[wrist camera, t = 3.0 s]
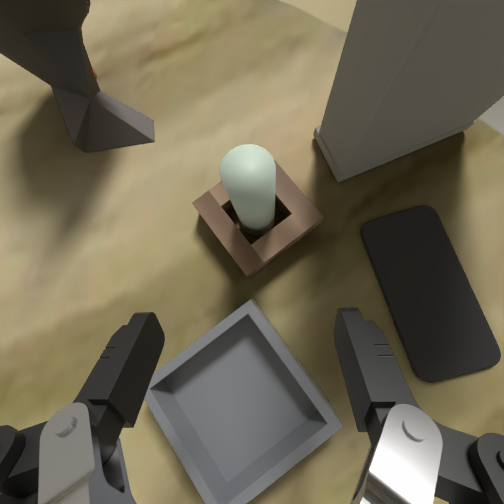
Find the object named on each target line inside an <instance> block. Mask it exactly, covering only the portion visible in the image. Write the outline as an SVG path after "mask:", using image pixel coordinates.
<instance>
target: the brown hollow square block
mask: <svg viewBox="0 0 504 504" xmlns="http://www.w3.org/2000/svg"><path fill="white" fill-rule="evenodd" d="M274 161H275V160H274ZM275 165H276V184H275V204H276V205H277V206H278V208H279V209H280V210H281V211H282V212H283V214H284V215H285V216H286V217H287V218H286V219H285V220H283V221H282V222H281V223H279V224H278V225H277V226H275V227H274V228H273V229H271V230H270V231H269V232H267V233H266V234H265V235H263V236H262V237H261V238H259V239H258V240H257V241H256V242H254V243H253V244H252V245H250V243H249V242H248V241H247V239H246V238H245V237H244V236H243V234H242V233H241V232H240V230H239V229H238V228H237V226H236V225H235V224H234V223H233V221H232V220H231V219H230V217H229V216H228V215H227V213H229V212H230V211H231V210H233V209H234V207H233V205H232V202H231V200H230V198H229V196H228V194H227V192H226V189H225V187H224V185H223V183H222V181H221V182H219V183H218V184H217V185H215V186H214V187H213V188H211V189H210V190H209V191H207V192H206V193H205V194H203V195H202V196H201V197H199V198H198V199H196V200H195V201H194V202H192V204H193V205H194V207H195V208H196V209H197V211H198V212H199V213H200V215H201V216H202V217H203V219H204V220H205V221H206V223H207V224H208V225H209V227H210V228H211V229H212V231H213V232H214V233H215V235H216V236H217V238H218V239H219V240H220V242H221V243H222V244H223V246H224V247H225V248H226V250H227V251H228V252H229V254H230V255H231V256H232V258H233V259H234V260H235V262H236V263H237V264H238V266H239V267H240V268H241V270H242V271H243V272H244V274H245V275H246V276H247V277H248V278H250V277H251V276H252V275H254V274H255V273H256V272H257V271H259V270H260V269H261V268H263V267H264V266H265V265H267V264H268V263H269V262H271V261H272V260H273V259H275V258H276V257H277V256H278V255H280V254H281V253H282V252H284V251H285V250H286V249H288V248H289V247H290V246H292V245H293V244H294V243H296V242H297V241H298V240H299V239H301V238H302V237H303V236H305V235H306V234H307V233H309V232H310V231H311V230H313V229H314V228H315V227H317V226H318V225H319V224H320V222H321V221H322V219H323V218H324V217H323V216H322V215H321V213H320V212H319V211H318V210H317V209H316V208H315V206H314V205H313V204H312V203H311V202H310V201H309V200H308V198H307V197H306V196H305V195H304V194H303V193H302V191H301V190H300V189H299V188H298V187H297V186H296V184H295V183H294V182H293V181H292V180H291V179H290V178H289V176H288V175H287V174H286V173H285V172H284V171H283V169H282V168H281V167H280V166H279V165H278V164H277V162H276V161H275Z"/></svg>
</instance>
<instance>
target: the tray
mask: <svg viewBox="0 0 504 504" xmlns="http://www.w3.org/2000/svg"><path fill="white" fill-rule="evenodd" d="M144 400H145V402H146V403H147V405H148V407H149V409H150V410H151V412H152V414H153V415H154V417H155V419H156V421H157V422H158V424H159V426H160V427H161V429H162V431H163V433H164V434H165V436H166V438H167V439H168V441H169V443H170V445H171V446H172V448H173V450H174V451H175V453H176V455H177V457H178V458H179V460H180V462H181V463H182V465H183V467H184V469H185V470H186V472H187V474H188V475H189V477H190V479H191V481H192V482H193V484H194V486H195V487H196V489H197V491H198V493H199V494H200V496H201V498H202V499H203V501H204V503H205V504H247V503H248V502H250V501H251V500H252V499H253V498H255V497H256V496H257V495H258V494H260V493H261V492H262V491H263V490H265V489H266V488H267V487H268V486H270V485H271V484H272V483H273V482H275V481H276V480H277V479H278V478H280V477H281V476H282V475H283V474H285V473H286V472H287V471H288V470H290V469H291V468H292V467H293V466H295V465H296V464H297V463H298V462H300V461H301V460H302V459H303V458H305V457H306V456H307V455H308V454H310V453H311V452H312V451H313V450H315V449H316V448H317V447H319V446H320V445H321V444H322V443H324V442H325V441H326V440H327V439H329V438H330V437H331V436H332V435H334V434H335V433H336V432H337V431H339V430H340V429H341V428H342V427H343V425H342V423H341V421H340V419H339V418H338V416H337V414H336V412H335V410H334V408H333V406H332V405H331V403H330V402H329V400H328V399H327V398H326V396H325V395H324V394H323V392H322V391H321V390H320V388H319V387H318V386H317V384H316V383H315V381H314V380H313V379H312V377H311V376H310V375H309V373H308V372H307V371H306V369H305V368H304V367H303V365H302V364H301V362H300V361H299V360H298V358H297V357H296V356H295V354H294V353H293V352H292V350H291V349H290V347H289V346H288V345H287V343H286V342H285V341H284V339H283V338H282V337H281V335H280V334H279V333H278V331H277V330H276V328H275V327H274V326H273V324H272V323H271V322H270V320H269V319H268V318H267V316H266V315H265V314H264V312H263V311H262V309H261V308H260V307H259V305H258V304H257V303H256V301H255V300H254V299H250V300H249V301H247V302H246V303H245V304H244V305H242V306H241V307H240V308H238V309H237V310H236V311H234V312H233V313H232V314H230V315H229V316H228V317H227V318H225V319H224V320H223V321H221V322H220V323H219V324H217V325H216V326H215V327H213V328H212V329H211V330H210V331H208V332H207V333H206V334H204V335H203V336H202V337H200V338H199V339H198V340H196V341H195V342H194V343H193V344H191V345H190V346H189V347H187V348H186V349H185V350H183V351H182V352H181V353H179V354H178V355H177V356H176V357H174V358H173V359H172V360H170V361H169V362H168V363H166V364H165V365H164V366H162V367H161V368H160V369H159V370H157V371H156V372H155V373H153V376H152V379H151V381H150V384H149V387H148V390H147V392H146V395H145V398H144Z"/></svg>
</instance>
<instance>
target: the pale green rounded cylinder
mask: <svg viewBox="0 0 504 504" xmlns="http://www.w3.org/2000/svg"><path fill="white" fill-rule="evenodd" d="M220 178H221V181H222V183H223V185H224V187H225V189H226V192H227V194H228V196H229V198H230V200H231V202H232V205H233V207H234V209H235V211H236V213H237V215H238V218H239V220H240V222H241V224H242V226H243V228H244V229H245V230H246V231H247V232H249V233H251V234H254V235H260V234H264V233H266V232H268V231H269V230H270V229H271V228H272V226H273V224H274V221H275V184H276V165H275V161H274V159H273V157H272V155H271V154H270V153H269V152H268V151H267V150H266V149H264V148H262V147H260V146H258V145H253V144H245V145H241V146H238V147H236V148H234V149H232V150H231V151H230V152H228V153H227V154H226V156H225V157H224V159H223V160H222V163H221V166H220Z"/></svg>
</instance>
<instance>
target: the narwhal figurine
mask: <svg viewBox="0 0 504 504" xmlns="http://www.w3.org/2000/svg"><path fill="white" fill-rule="evenodd" d="M89 7H90V0H0V53H1V54H3V55H4V56H6V57H7V58H9V59H10V60H12V61H13V62H15V63H17V64H18V65H20V66H21V67H23V68H24V69H26V70H27V71H29V72H31V73H32V74H34V75H35V76H37V77H38V78H40V79H41V80H43V81H45V82H46V83H48V84H49V85H51V87H52V90H53V92H54V95H55V98H56V100H57V103H58V105H59V108H60V110H61V113H62V115H63V118H64V121H65V123H66V126H67V128H68V131H69V133H70V136H71V139H72V141H73V144H74V145H76V146H77V147H79V148H80V149H81V150H83V151H84V152H92V151H99V150H105V149H111V148H118V147H124V146H130V145H137V144H143V143H149V142H155V139H154V120H152V119H150V118H149V117H147V116H145V115H143V114H141V113H140V112H138V111H136V110H134V109H132V108H130V107H129V106H127V105H125V104H123V103H121V102H119V101H118V100H116V99H114V98H112V97H110V96H108V95H107V94H105V93H103V92H101V91H100V89H99V86H98V83H97V81H96V73H95V72H94V70H93V69H92V66H91V64H90V61H89V58H88V55H87V52H86V49H85V46H84V44H83V38H82V30H81V27H82V24H83V22H84V19H85V18H86V16H87V14H88V13H89Z"/></svg>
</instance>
